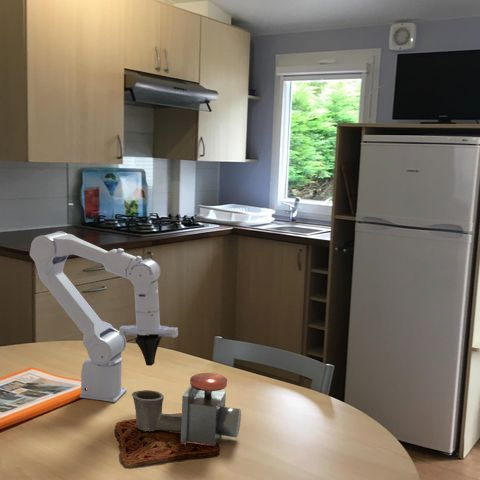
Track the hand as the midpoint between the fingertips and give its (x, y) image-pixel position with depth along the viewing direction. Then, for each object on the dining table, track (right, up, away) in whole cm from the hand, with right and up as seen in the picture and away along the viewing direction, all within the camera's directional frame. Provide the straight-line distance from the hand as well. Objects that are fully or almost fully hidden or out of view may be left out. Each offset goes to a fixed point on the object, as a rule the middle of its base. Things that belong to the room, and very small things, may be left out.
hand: (150, 364), depth 152 cm
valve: (+16, -13, -15) cm, 25 cm away
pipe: (+4, -12, -13) cm, 18 cm away
